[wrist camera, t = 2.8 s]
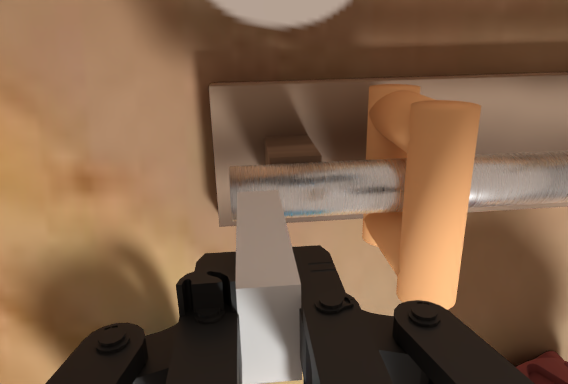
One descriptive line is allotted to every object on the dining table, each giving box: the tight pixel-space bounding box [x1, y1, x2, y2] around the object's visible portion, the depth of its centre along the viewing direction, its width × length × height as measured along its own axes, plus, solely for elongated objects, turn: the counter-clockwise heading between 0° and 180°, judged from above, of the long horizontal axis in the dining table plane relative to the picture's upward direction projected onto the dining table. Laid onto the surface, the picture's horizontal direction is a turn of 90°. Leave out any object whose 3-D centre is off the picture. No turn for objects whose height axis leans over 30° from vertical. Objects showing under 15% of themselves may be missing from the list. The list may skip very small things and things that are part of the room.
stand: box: [209, 72, 568, 227], centre depth 25 cm, size 8×32×6 cm, turn 91°
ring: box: [362, 84, 481, 310], centre depth 20 cm, size 8×2×8 cm, turn 1°
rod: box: [229, 151, 568, 221], centre depth 21 cm, size 30×2×2 cm, turn 91°
